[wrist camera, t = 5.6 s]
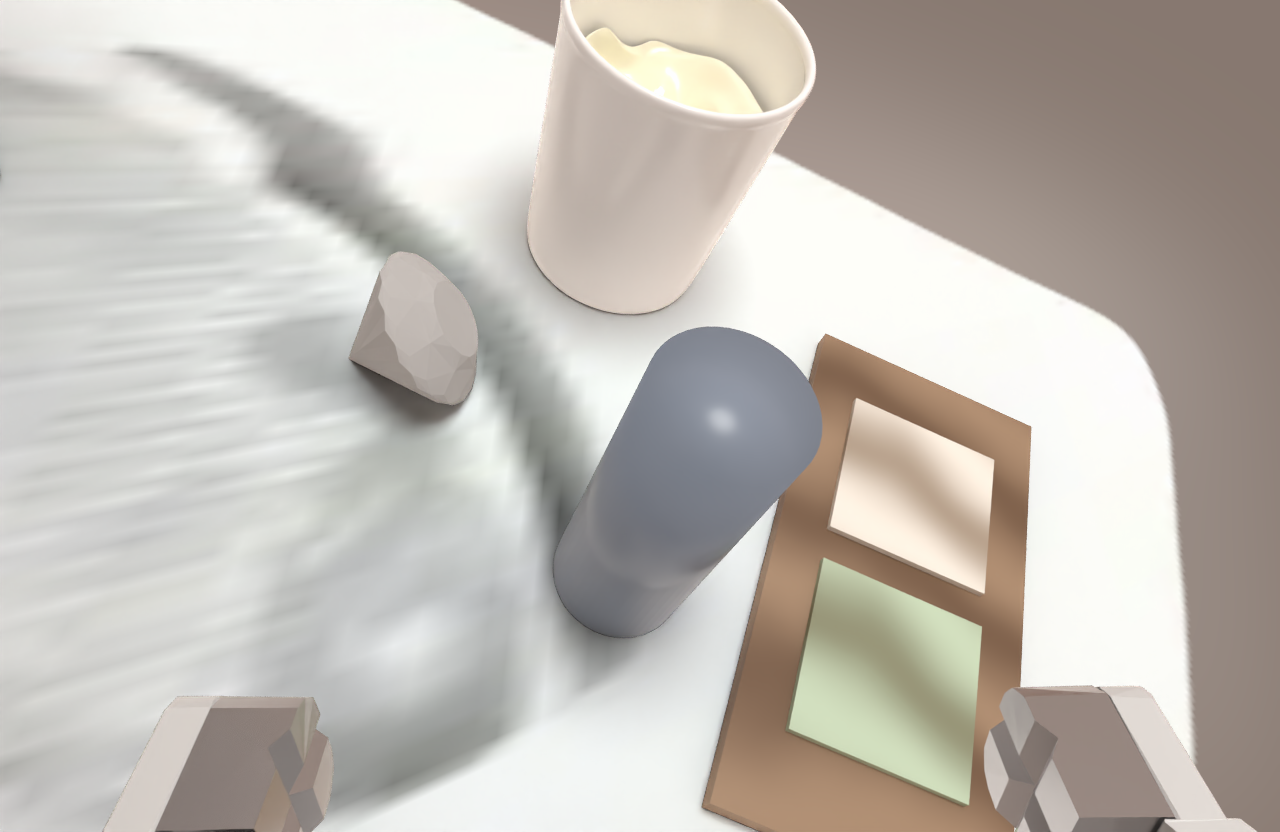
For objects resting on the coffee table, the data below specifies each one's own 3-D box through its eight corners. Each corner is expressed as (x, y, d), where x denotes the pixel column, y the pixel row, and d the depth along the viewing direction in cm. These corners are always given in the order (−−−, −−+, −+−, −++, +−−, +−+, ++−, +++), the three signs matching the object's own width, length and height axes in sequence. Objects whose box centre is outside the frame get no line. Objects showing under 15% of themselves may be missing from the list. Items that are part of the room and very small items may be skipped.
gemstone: (288, 258, 33) (400, 211, 31) (389, 318, 38) (488, 281, 37) (296, 409, 30) (416, 366, 29) (402, 449, 36) (507, 414, 35)
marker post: (540, 521, 33) (623, 331, 23) (660, 504, 35) (784, 322, 25) (570, 649, 30) (676, 498, 21) (697, 624, 32) (850, 475, 23)
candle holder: (488, 174, 42) (532, -69, 32) (671, 172, 45) (761, -45, 36) (538, 339, 37) (607, 115, 28) (737, 321, 41) (858, 120, 31)
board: (995, 929, 30) (1015, 928, 29) (701, 807, 29) (713, 801, 28) (1020, 435, 42) (1035, 423, 42) (818, 343, 42) (828, 329, 41)
